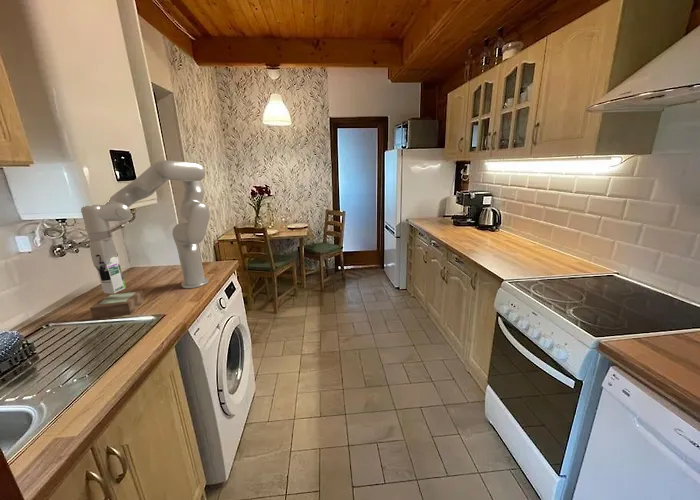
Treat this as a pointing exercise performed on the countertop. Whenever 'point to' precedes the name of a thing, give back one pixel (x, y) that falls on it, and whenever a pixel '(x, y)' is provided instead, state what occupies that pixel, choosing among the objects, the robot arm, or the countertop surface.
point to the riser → (117, 304)
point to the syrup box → (113, 277)
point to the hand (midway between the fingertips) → (111, 276)
